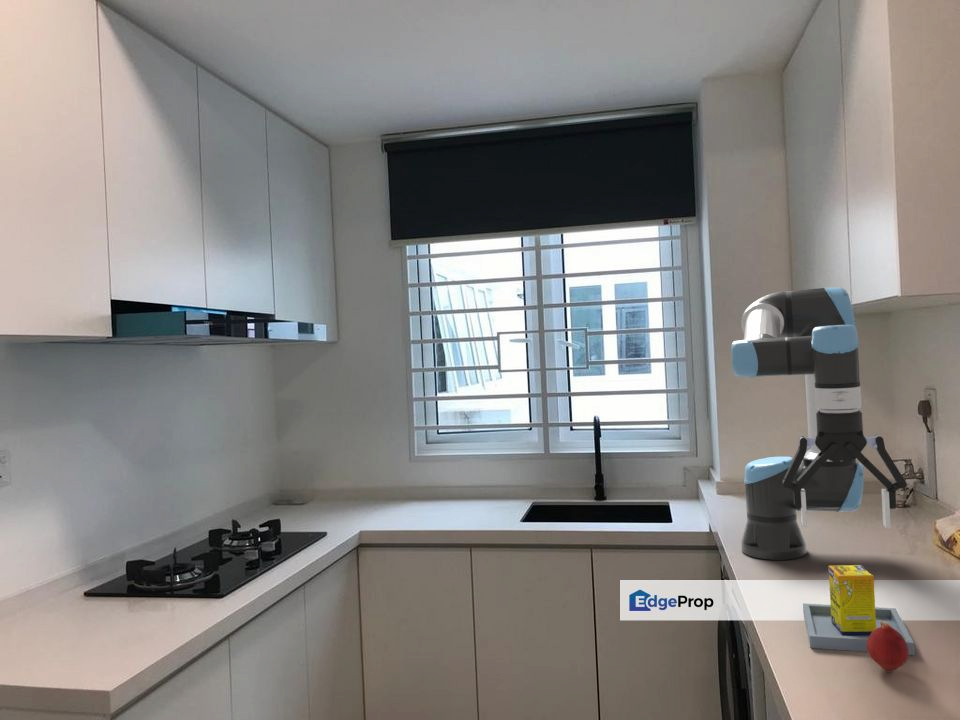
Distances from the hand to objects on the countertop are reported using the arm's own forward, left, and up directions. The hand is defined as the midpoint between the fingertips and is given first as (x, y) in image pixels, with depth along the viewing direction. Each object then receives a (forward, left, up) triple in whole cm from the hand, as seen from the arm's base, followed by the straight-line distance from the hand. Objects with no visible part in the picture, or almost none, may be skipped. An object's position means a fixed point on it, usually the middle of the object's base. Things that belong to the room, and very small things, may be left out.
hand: (845, 525), depth 134 cm
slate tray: (+1, 0, -19) cm, 19 cm away
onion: (+16, +3, -19) cm, 26 cm away
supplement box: (+1, 0, -19) cm, 19 cm away
